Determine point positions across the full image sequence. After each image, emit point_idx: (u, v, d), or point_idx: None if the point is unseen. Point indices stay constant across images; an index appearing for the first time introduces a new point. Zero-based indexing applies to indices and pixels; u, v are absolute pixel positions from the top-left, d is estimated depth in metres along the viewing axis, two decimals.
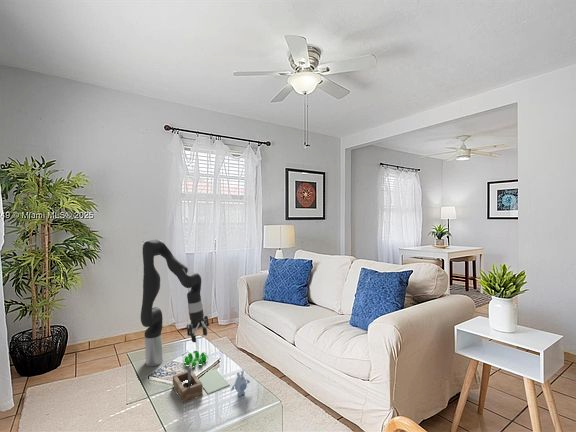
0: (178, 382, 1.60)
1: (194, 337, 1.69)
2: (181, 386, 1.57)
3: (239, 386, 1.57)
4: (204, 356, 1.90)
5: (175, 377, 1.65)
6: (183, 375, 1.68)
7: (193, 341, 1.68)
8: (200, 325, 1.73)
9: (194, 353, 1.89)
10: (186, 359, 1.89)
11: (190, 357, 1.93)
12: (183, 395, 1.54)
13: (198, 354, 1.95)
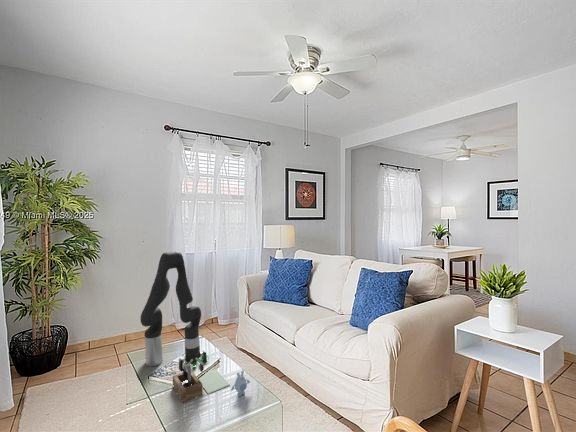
0: (178, 382, 1.60)
1: (185, 372, 1.64)
2: (181, 386, 1.57)
3: (239, 386, 1.57)
4: None
5: (175, 377, 1.65)
6: None
7: (184, 376, 1.64)
8: (195, 361, 1.66)
9: None
10: None
11: None
12: (183, 395, 1.54)
13: None
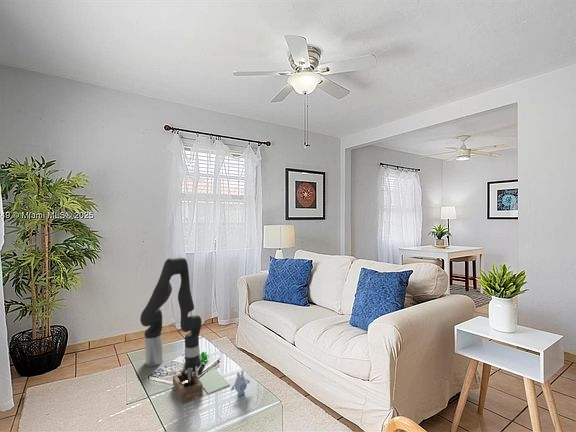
0: (178, 382, 1.60)
1: (191, 381, 1.66)
2: (181, 386, 1.57)
3: (239, 386, 1.57)
4: (205, 355, 1.91)
5: (175, 377, 1.65)
6: None
7: None
8: (193, 369, 1.66)
9: None
10: None
11: None
12: (183, 395, 1.54)
13: None
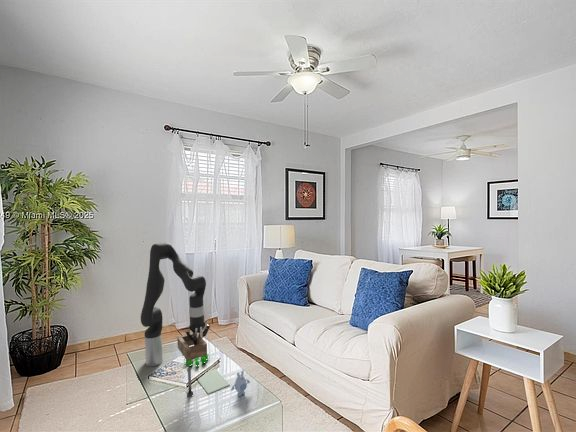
0: (182, 342, 1.60)
1: (195, 341, 1.66)
2: (186, 345, 1.57)
3: (239, 386, 1.57)
4: None
5: (180, 338, 1.65)
6: None
7: None
8: (197, 330, 1.66)
9: None
10: None
11: None
12: (188, 353, 1.54)
13: None
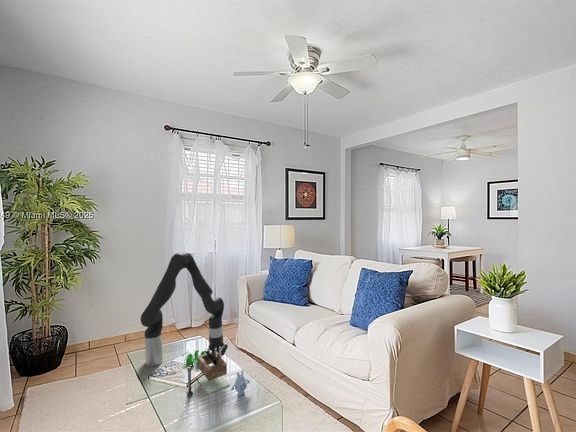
0: (203, 362, 1.68)
1: (215, 360, 1.73)
2: (206, 365, 1.65)
3: (239, 386, 1.57)
4: None
5: (200, 357, 1.73)
6: (207, 356, 1.75)
7: None
8: (216, 349, 1.74)
9: (196, 352, 1.89)
10: (188, 360, 1.88)
11: (190, 357, 1.92)
12: (209, 373, 1.62)
13: (197, 353, 1.95)
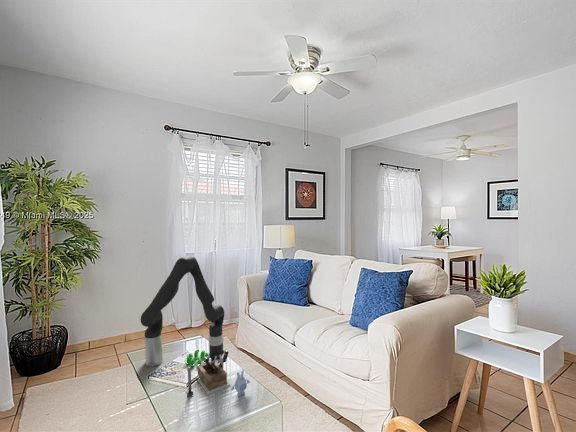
0: (203, 372, 1.69)
1: (212, 369, 1.73)
2: (207, 375, 1.66)
3: (239, 386, 1.57)
4: (206, 353, 1.93)
5: (200, 367, 1.73)
6: None
7: None
8: (217, 357, 1.74)
9: (197, 352, 1.90)
10: (189, 360, 1.88)
11: (190, 358, 1.92)
12: (209, 383, 1.62)
13: (197, 353, 1.96)
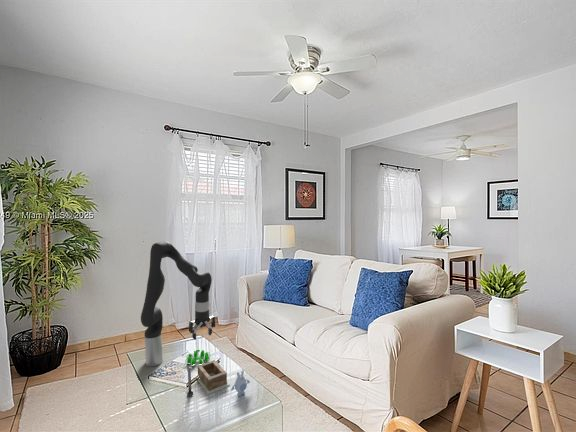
0: (203, 372, 1.69)
1: (194, 335, 1.70)
2: (207, 375, 1.66)
3: (239, 386, 1.57)
4: (206, 353, 1.94)
5: (200, 367, 1.73)
6: (207, 365, 1.76)
7: (193, 338, 1.70)
8: (204, 324, 1.73)
9: None
10: (190, 360, 1.88)
11: (190, 358, 1.92)
12: (209, 383, 1.62)
13: None
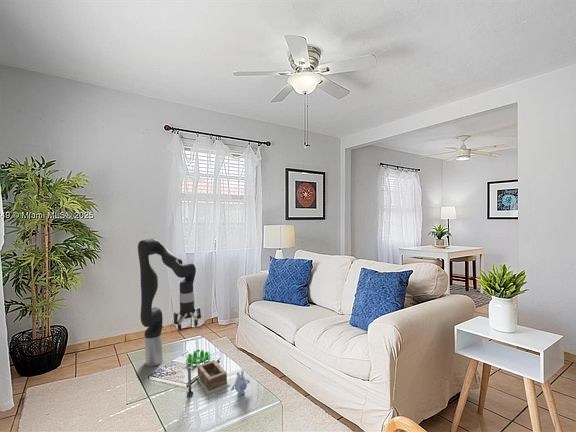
0: (203, 372, 1.69)
1: (179, 326, 1.69)
2: (207, 375, 1.66)
3: (239, 386, 1.57)
4: (206, 352, 1.94)
5: (200, 367, 1.73)
6: (207, 365, 1.76)
7: (178, 329, 1.69)
8: (189, 316, 1.72)
9: None
10: (190, 360, 1.88)
11: (190, 358, 1.92)
12: (209, 383, 1.62)
13: (196, 353, 1.96)
